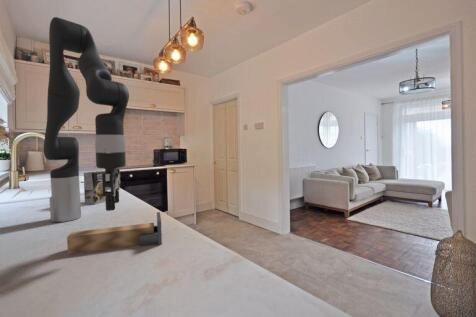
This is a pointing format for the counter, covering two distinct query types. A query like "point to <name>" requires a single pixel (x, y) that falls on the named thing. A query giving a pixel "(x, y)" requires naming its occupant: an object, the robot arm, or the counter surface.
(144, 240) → the cup bracket
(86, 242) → the rail
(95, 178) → the coffee box
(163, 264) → the counter surface
